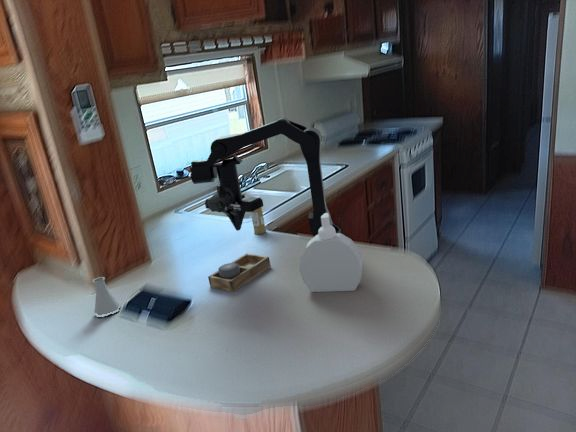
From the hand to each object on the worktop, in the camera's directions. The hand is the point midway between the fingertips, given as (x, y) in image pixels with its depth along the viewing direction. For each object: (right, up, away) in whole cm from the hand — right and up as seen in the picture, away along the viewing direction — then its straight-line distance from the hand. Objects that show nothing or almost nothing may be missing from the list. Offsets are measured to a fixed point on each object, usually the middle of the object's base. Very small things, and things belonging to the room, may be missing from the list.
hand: (238, 230), depth 142 cm
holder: (+1, -14, -2) cm, 14 cm away
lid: (-1, -14, -6) cm, 15 cm away
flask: (-35, -23, -11) cm, 43 cm away
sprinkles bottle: (+5, -2, +33) cm, 34 cm away
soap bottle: (+27, -15, -17) cm, 35 cm away
